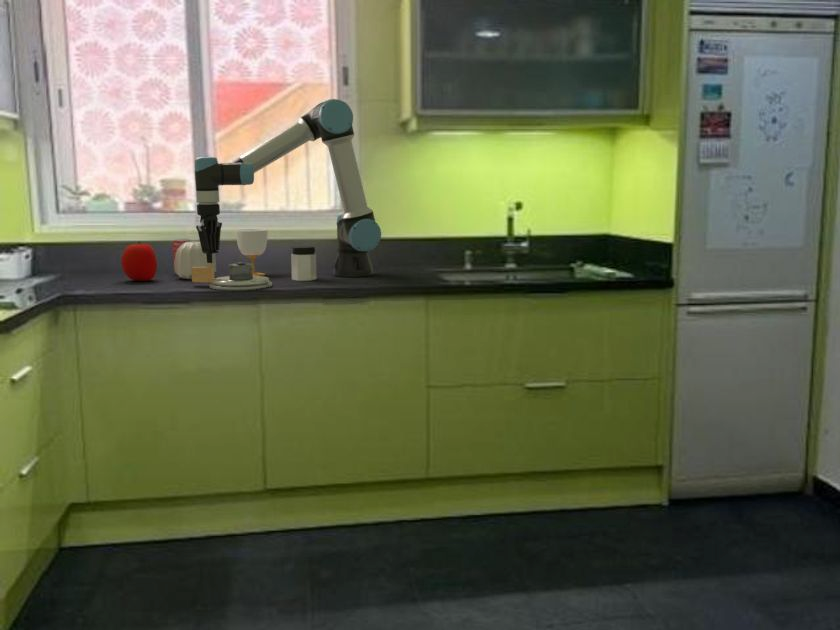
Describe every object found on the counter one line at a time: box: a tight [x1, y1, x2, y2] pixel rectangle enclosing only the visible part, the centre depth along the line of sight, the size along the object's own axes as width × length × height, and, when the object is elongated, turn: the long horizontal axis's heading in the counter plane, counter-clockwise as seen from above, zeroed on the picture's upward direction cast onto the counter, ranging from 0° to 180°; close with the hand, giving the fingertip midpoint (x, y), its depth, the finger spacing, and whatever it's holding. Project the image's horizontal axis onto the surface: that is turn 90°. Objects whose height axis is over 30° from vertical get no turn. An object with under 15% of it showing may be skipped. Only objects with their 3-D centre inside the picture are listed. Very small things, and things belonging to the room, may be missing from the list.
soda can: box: [172, 238, 192, 275], centre depth 315 cm, size 7×7×13 cm
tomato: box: [120, 241, 158, 282], centre depth 294 cm, size 13×11×14 cm
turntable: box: [191, 267, 270, 286], centre depth 282 cm, size 26×19×5 cm
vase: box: [173, 240, 207, 280], centre depth 302 cm, size 14×14×13 cm
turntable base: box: [209, 280, 273, 292], centre depth 282 cm, size 21×21×1 cm
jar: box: [290, 245, 317, 282], centre depth 299 cm, size 9×8×12 cm
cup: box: [235, 228, 268, 277], centre depth 311 cm, size 12×12×17 cm
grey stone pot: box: [228, 261, 253, 281], centre depth 282 cm, size 8×8×6 cm
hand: (211, 271), depth 284 cm, fingers closed
